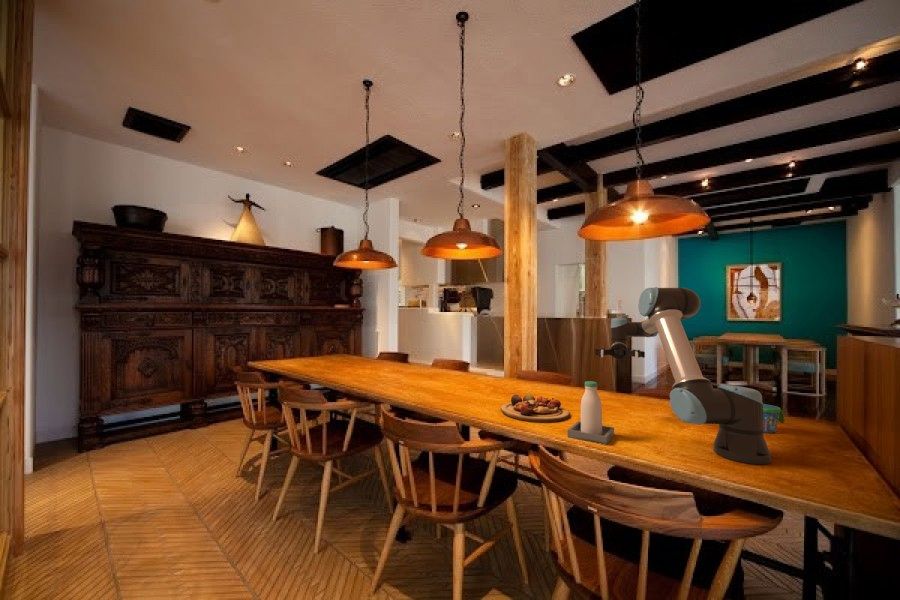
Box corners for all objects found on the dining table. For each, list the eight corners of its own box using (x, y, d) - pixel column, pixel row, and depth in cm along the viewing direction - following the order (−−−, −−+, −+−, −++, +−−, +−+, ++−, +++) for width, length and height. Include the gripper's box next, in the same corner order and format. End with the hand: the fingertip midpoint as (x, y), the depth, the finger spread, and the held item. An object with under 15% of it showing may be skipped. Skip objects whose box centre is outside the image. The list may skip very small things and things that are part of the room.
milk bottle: (605, 437, 135) (604, 384, 136) (584, 437, 135) (584, 383, 136) (597, 430, 143) (596, 380, 144) (578, 430, 143) (577, 380, 144)
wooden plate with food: (547, 428, 149) (547, 408, 149) (487, 412, 171) (487, 395, 171) (581, 415, 171) (581, 397, 172) (524, 402, 194) (524, 387, 194)
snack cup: (774, 427, 152) (773, 403, 152) (795, 435, 142) (794, 409, 142) (734, 426, 154) (734, 402, 154) (752, 434, 143) (752, 408, 144)
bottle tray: (614, 434, 141) (614, 427, 141) (606, 445, 129) (606, 437, 130) (577, 427, 149) (577, 421, 149) (567, 437, 137) (567, 429, 138)
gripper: (648, 360, 167) (652, 365, 148) (591, 356, 178) (588, 361, 159) (648, 343, 168) (652, 347, 148) (591, 341, 178) (587, 344, 159)
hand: (619, 355), depth 153 cm, fingers open, 13 cm apart
